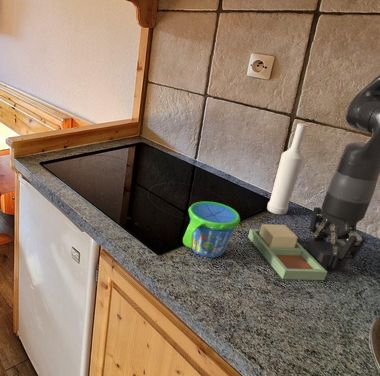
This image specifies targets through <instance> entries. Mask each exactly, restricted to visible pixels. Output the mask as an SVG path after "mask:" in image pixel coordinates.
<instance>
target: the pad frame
mask: <svg viewBox="0 0 380 376" xmlns="http://www.w3.org/2000/svg"><path fill="white" fill-rule="evenodd" d="M259 232H260V229H257V228H256V229H253V228H250V229H249V232H248V236H247V238H248V239H249V240H250V241H251V243H252V244H253V245H254V247H256V248H257V250H258V251H259V252H260V254H261V255H262V256H263V257H264V258H265V260H266V261H267V262H268V263H269V264H270V266H271V267H272V268H273V269H274V270H275V272H276V273H277V274H278V276H279V277H280V278H281V279H282V280H296V281H297V280H300V281H301V280H302V281H306V280H307V281H325V279H326V277H327V274H328V270H325V269H324V268H323V267H322V266H321V265H320V264H319V263H318V262H317V261H316V260H315V259H314V258H313V257H312V256H311V255H310V254H309V253H308V252H307V251H306V249H305V248H304V247H303V246H302V245H301V244H300V243H299V242H298V240H297V241H296V244H295V247H294V248H270V247H268V246H267V245H266V244H265V242H264V241H263V240H262V239H261V238H260V237H259Z"/></svg>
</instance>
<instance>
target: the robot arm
mask: <svg viewBox="0 0 380 376" xmlns="http://www.w3.org/2000/svg"><path fill="white" fill-rule="evenodd" d="M344 118H345V122H346V124H347V125H348V126H349V127H350V128H352V129H355V130H358V131H360V132H364V133H367V134H370V135H371V136H370V138H369V139H368V141H367V142H360V141H359V142H356V141H355V142H349V143H348V144H346V145H345V146H344V147H343V149H342V152H341V154H340V157H339V160H338V163H337V166H336V169H335V171H334V173H333V175H332V177H331V179H330V181H329V184H328V187H327V189H326V193H325V196H324V199H323V201H322V204H321V206H315V207H313V211H312V215H311V220H310V226H309V232H310V233H313V235H312V236H313V238H314V239H313V241H327V239H328V238H329V236H330V242H331V244H332V245H333V254H332V255H331V258H330V261H329V263H328V266H327V268H328V269H329V270H328V271H335V272H337V270H339V269H340V268H341V265H342V263H343V260H344V259H348V260H354V259H355V258H356V257H357V255H358V254H359V252H360V250H361V249H362V247H363V246H364V244H365V242H367V239H366V237H365V235H360V234H358V232H357V225H358V223H359V222H360V221H362V220H364V218H365V216H366V213H367V212H368V209H369V206H370V204H371V201H372V199H373V196H374V194H375V191H376V188H377V184H378V181H379V177H380V73H379V74H378V75H377V76H376V77H374V78H373V79H372V81H370V82H369V83H368V84H367V85H366V86H365V87H364V88H362V89H361V90H360V92H358V93H357V94H356V95H355V96H354V97H353V98H352V99H351V100H350V102H349V104H348V106H347V108H346V110H345V117H344ZM317 224H318V225H317ZM339 240H343V241H339ZM339 247H341V249H342V250H341V251H339Z"/></svg>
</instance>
